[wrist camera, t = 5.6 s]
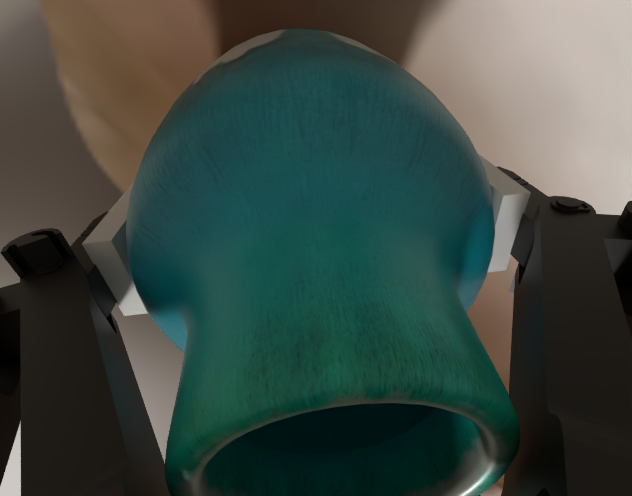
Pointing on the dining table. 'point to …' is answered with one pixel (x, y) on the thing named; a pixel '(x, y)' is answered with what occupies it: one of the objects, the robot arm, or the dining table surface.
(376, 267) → the vase
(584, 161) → the dining table surface
